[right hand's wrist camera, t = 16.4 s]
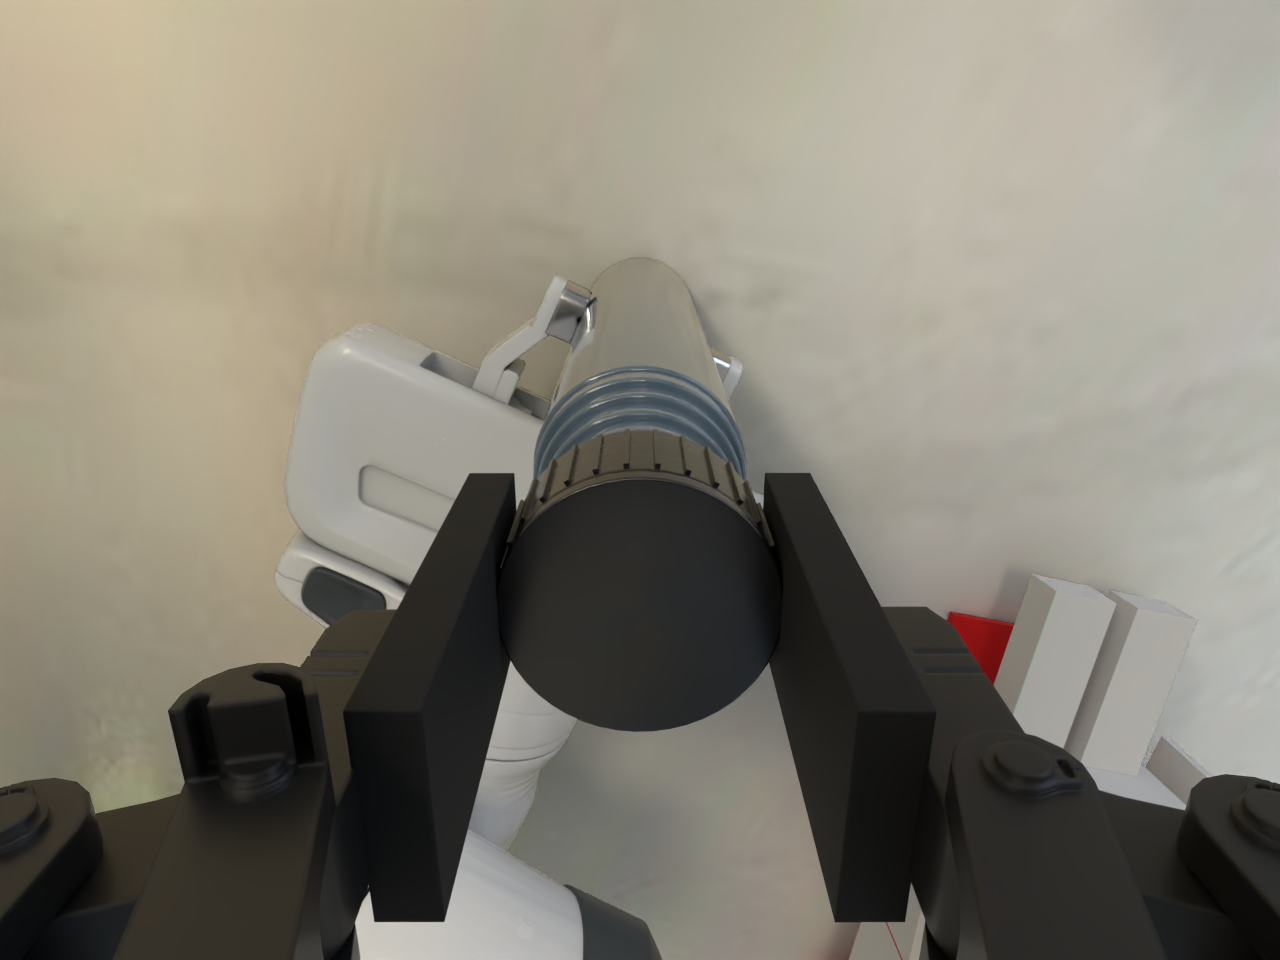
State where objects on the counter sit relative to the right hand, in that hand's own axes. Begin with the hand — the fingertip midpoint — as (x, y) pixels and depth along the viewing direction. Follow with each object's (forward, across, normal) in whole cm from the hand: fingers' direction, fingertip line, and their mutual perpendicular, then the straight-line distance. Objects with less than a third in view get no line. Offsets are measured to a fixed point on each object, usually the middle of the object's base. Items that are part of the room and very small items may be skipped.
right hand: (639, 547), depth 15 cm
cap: (-2, 0, 0) cm, 2 cm away
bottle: (+23, 0, 0) cm, 23 cm away
